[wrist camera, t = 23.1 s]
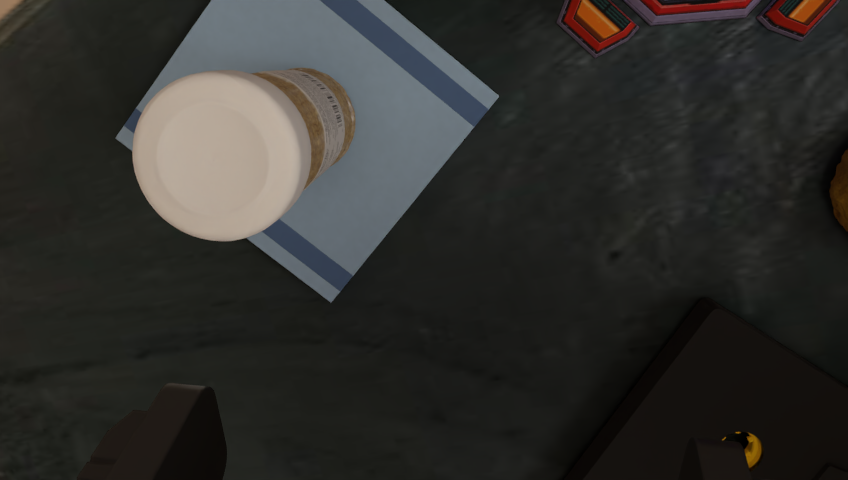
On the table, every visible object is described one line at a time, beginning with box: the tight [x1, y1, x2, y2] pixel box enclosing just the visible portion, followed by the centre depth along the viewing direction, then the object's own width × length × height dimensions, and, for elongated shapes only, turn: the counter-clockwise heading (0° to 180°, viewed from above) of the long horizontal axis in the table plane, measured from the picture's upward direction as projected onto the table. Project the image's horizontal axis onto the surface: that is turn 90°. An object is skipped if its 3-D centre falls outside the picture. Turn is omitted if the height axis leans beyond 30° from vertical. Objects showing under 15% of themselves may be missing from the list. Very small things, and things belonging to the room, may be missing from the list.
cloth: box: [116, 0, 499, 302], centre depth 33 cm, size 12×12×1 cm
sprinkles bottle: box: [132, 68, 356, 241], centre depth 26 cm, size 5×5×14 cm
